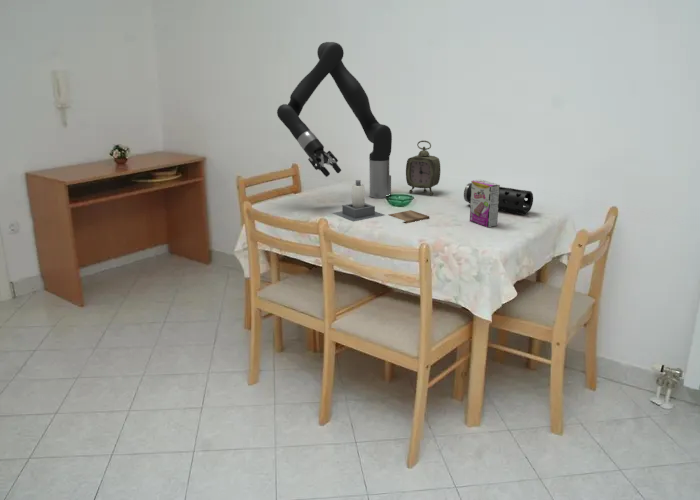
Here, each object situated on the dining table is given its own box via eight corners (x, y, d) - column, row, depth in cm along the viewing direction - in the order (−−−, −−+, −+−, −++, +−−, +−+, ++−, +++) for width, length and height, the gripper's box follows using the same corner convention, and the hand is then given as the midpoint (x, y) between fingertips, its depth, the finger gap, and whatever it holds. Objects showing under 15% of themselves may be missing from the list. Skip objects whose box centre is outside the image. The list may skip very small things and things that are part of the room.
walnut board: (410, 212, 248) (410, 210, 248) (429, 218, 238) (429, 216, 238) (387, 217, 242) (387, 214, 242) (405, 223, 232) (405, 221, 232)
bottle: (360, 211, 247) (359, 178, 242) (366, 214, 243) (366, 180, 238) (350, 213, 244) (349, 180, 239) (356, 216, 240) (356, 182, 236)
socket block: (363, 209, 254) (363, 199, 253) (385, 217, 241) (385, 206, 240) (331, 215, 246) (331, 204, 244) (353, 223, 233) (352, 212, 232)
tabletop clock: (405, 193, 281) (406, 140, 273) (413, 189, 288) (414, 138, 280) (433, 196, 274) (435, 142, 266) (441, 192, 281) (443, 140, 273)
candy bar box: (468, 221, 234) (470, 180, 229) (478, 219, 236) (480, 179, 231) (487, 228, 224) (490, 185, 219) (497, 226, 227) (500, 184, 222)
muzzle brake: (521, 217, 238) (523, 192, 235) (461, 207, 256) (463, 183, 253) (532, 213, 244) (534, 188, 241) (473, 202, 262) (474, 179, 259)
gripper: (305, 140, 238) (329, 170, 236) (325, 135, 250) (348, 165, 248) (295, 152, 243) (319, 182, 241) (315, 147, 254) (338, 176, 252)
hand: (334, 173), depth 244 cm, fingers open, 8 cm apart
